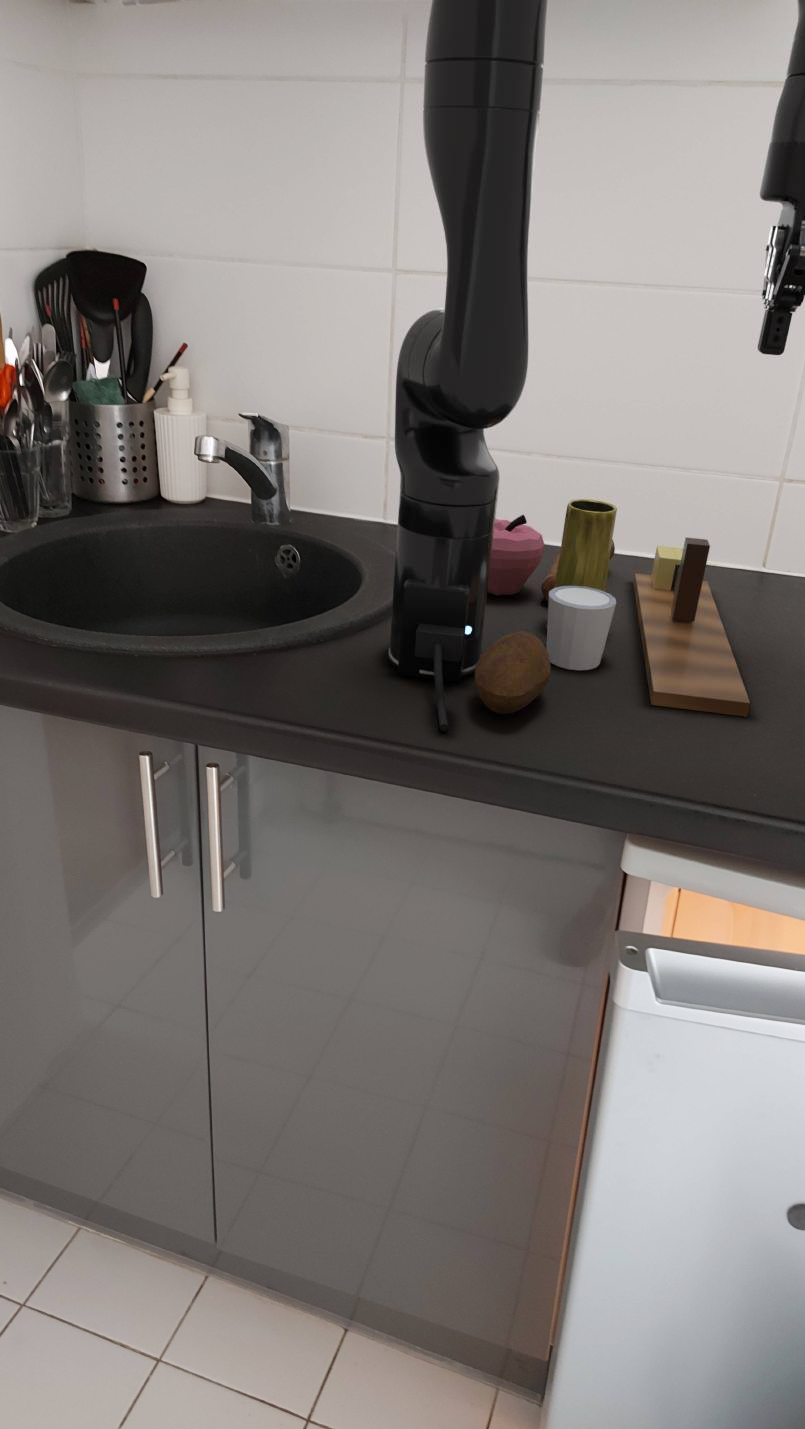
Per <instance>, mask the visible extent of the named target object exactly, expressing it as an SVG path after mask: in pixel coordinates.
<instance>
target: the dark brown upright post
mask: <svg viewBox="0 0 805 1429" xmlns="http://www.w3.org/2000/svg"><path fill="white" fill-rule="evenodd" d="M710 548H711V545H710V543H709V539H705V538H697V537H686V536H685V538H684V544H683V553H682V558H681V563H680V565H675V570H674V575H673V581H672V584H673V588H674V592H675V594H674V599H673V604H672V609H671V614H672V618H673V619H675V620H684V621H692V622H694V621H695V616H696V611H697V606H698V601H699V597H700V592H701V587H702V582H703V581H704V577H705V572H706V567H707V563H708V558H709V553H710Z"/></svg>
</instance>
